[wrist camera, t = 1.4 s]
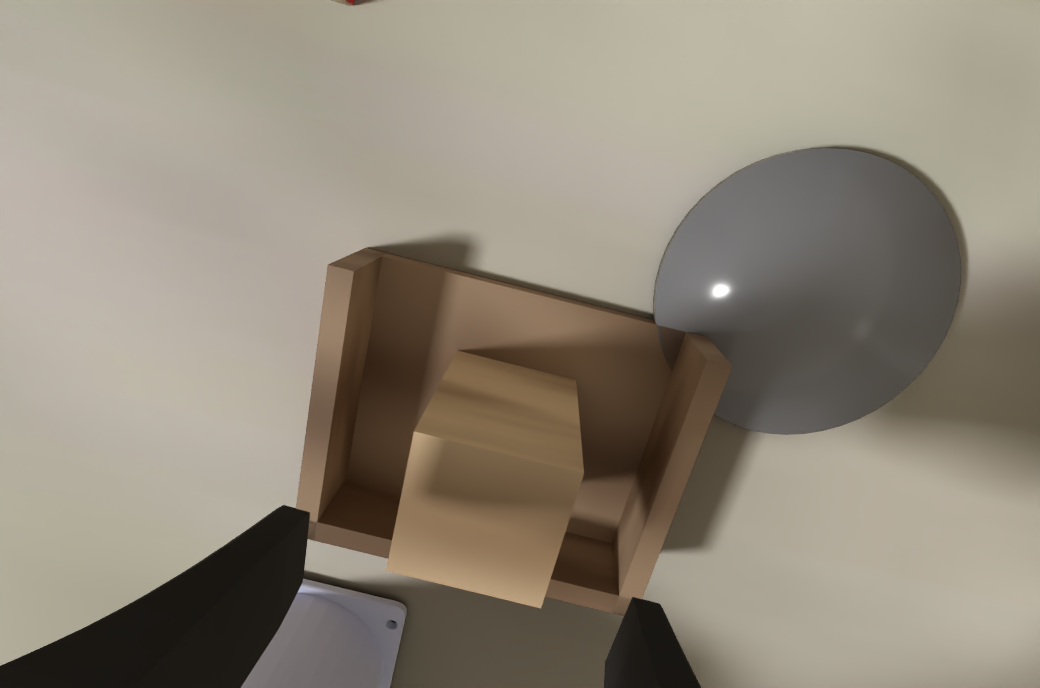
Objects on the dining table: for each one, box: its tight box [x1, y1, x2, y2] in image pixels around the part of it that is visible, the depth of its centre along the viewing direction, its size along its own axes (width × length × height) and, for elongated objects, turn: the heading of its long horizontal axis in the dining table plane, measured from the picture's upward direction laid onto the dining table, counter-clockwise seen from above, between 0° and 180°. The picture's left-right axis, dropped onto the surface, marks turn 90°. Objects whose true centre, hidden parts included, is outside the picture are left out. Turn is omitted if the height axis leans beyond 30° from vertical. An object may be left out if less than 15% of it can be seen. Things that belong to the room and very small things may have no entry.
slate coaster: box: [653, 148, 961, 435], centre depth 20 cm, size 10×10×1 cm
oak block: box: [386, 351, 584, 608], centre depth 18 cm, size 4×4×6 cm
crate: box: [296, 248, 732, 616], centre depth 20 cm, size 10×13×4 cm
